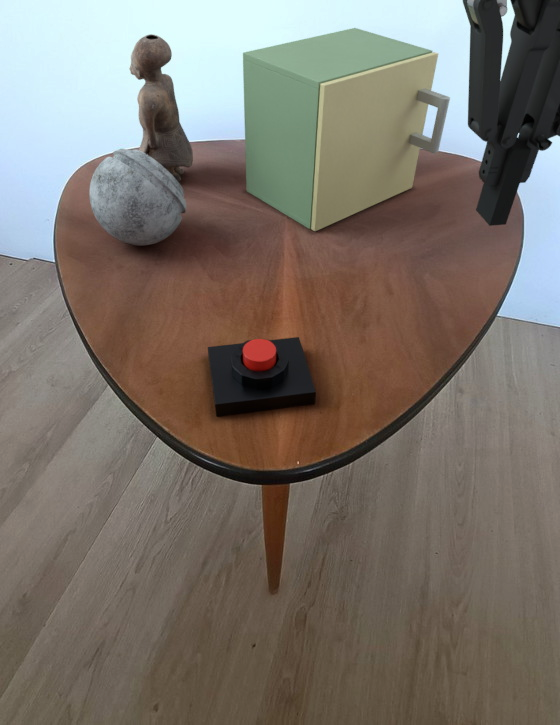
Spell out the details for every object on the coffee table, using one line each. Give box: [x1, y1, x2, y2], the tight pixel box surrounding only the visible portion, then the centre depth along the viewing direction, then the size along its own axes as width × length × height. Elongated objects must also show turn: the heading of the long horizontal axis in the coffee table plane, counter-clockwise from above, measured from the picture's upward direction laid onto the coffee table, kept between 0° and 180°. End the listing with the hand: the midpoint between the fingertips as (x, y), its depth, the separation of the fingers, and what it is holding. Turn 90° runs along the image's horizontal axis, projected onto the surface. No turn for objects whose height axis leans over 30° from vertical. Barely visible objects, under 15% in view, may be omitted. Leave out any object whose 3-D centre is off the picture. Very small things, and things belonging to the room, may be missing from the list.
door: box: [310, 51, 451, 232], centre depth 92 cm, size 7×26×24 cm, turn 130°
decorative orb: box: [88, 148, 188, 246], centre depth 88 cm, size 15×14×15 cm
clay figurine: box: [128, 34, 194, 182], centre depth 101 cm, size 13×10×25 cm
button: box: [243, 338, 276, 372], centre depth 67 cm, size 4×4×2 cm
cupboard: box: [242, 27, 433, 230], centre depth 99 cm, size 18×26×24 cm
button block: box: [207, 336, 317, 417], centre depth 68 cm, size 12×10×4 cm
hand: (490, 216), depth 48 cm, fingers closed
